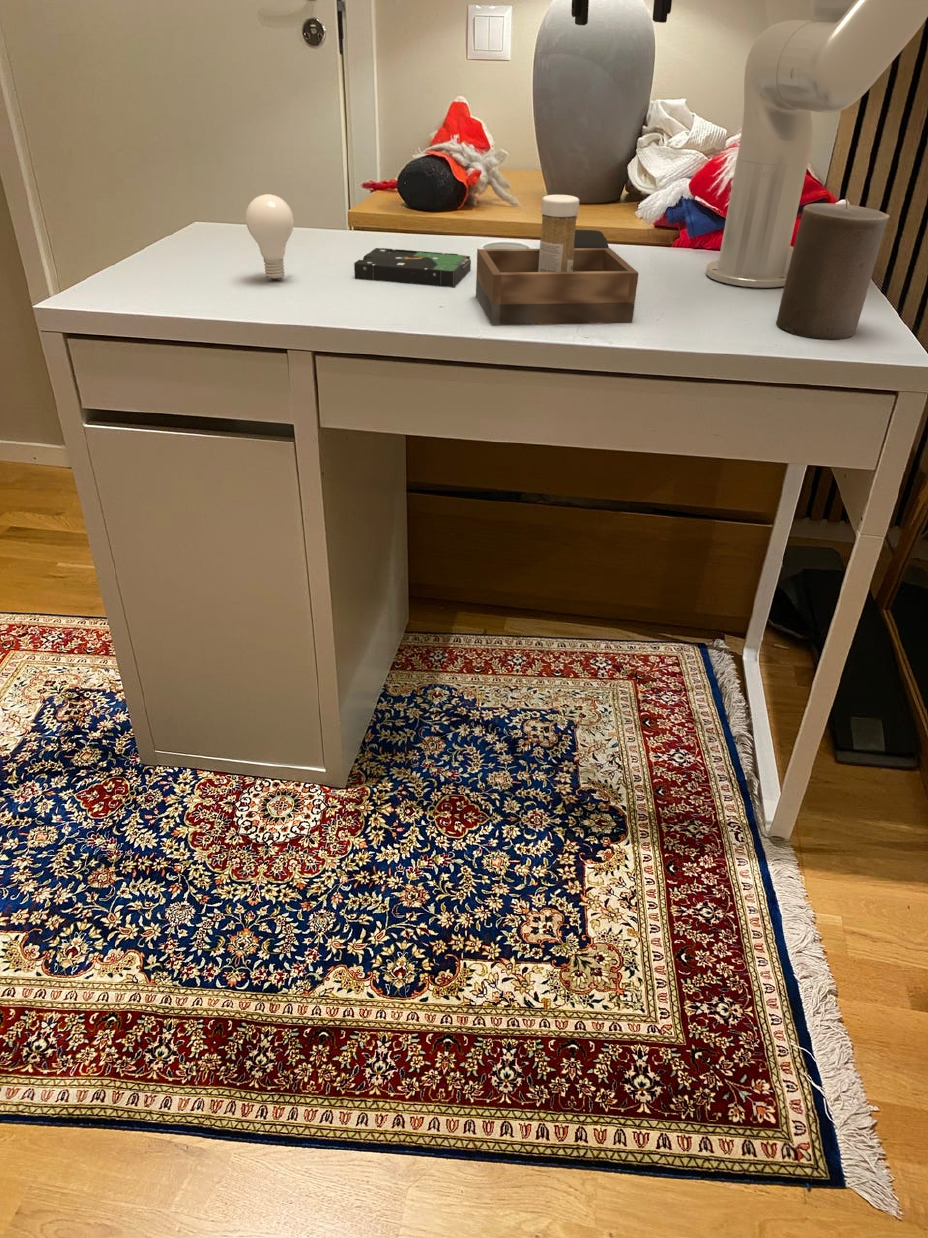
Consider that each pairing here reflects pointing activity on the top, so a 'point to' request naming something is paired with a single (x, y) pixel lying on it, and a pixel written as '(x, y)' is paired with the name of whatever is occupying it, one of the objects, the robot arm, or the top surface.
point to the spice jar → (558, 233)
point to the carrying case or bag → (590, 239)
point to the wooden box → (555, 288)
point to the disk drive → (413, 267)
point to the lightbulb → (270, 231)
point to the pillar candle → (830, 270)
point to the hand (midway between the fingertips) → (620, 23)
